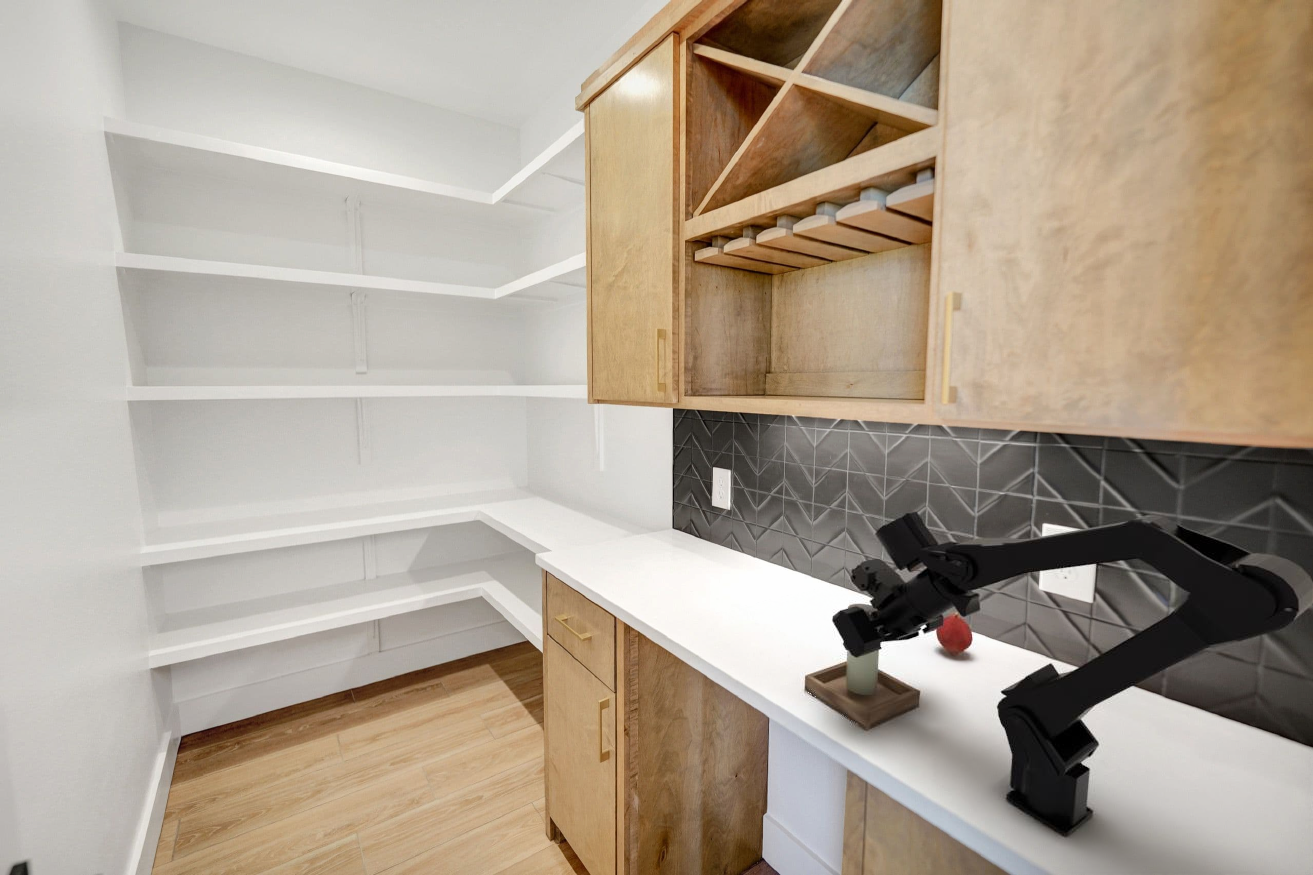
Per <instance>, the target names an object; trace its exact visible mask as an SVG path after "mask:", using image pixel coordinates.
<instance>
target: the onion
mask: <svg viewBox="0 0 1313 875" xmlns="http://www.w3.org/2000/svg"><path fill="white" fill-rule="evenodd" d="M935 632H936V639H937V640H938V642H939V644H940V645H941V646H942V647H943V648H944V649H945V651H947V652H948V653H949V654H950V655H953V656H957V655H959V654H960V653H962V652H964V651H966V650H967V649H969V647H971V645H972V643H973V640H974V639H973V632H972V630H971V627H970V626H969V624H967V622H966V621H965V620H964V619H962V618H961V617H960V614H959V612H954V613H952V614H951V615H947V616H946V617H945V618H943V626H941V627H940V628H938V629H936V630H935Z"/></svg>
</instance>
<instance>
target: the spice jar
mask: <svg viewBox="0 0 1313 875" xmlns="http://www.w3.org/2000/svg"><path fill="white" fill-rule="evenodd" d="M854 606H857V607H860V608H862V609H864V611H865V612H866V614H867V616H868V617H869V619H870V620H871V619H872V618H871V616H870V613H871V612H874V611H877V609H874V608H873V606H872V605H871V604H866V603H853V604H849V605H848V607H847V608H851V607H854ZM876 619H878V618H876ZM872 620H873V619H872ZM874 620H875V619H874ZM879 629H880V628H878V630H879ZM879 651H880V650H877V651H874V652H871V653H869V654H866V655H863V656H860V657H857V658H856V657H854V656H852V655H851V654H850V652H849V650H846V661H847V668H846V687H847V688H848V689H849V690H850V691H852V692H854V693H857V694H860V695H873V694H875V693H876V692H877V682H878V669H879V658H880V657H879V656H880V655H879V654H880V652H879Z"/></svg>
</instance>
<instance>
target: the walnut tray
mask: <svg viewBox="0 0 1313 875" xmlns="http://www.w3.org/2000/svg"><path fill="white" fill-rule="evenodd" d="M846 668H847V660H845V661H842V662H840V663H838V664H835V665H832V666H829V667H826V668H822V669H820V670H818V671H814V672H812V673H809V674H806V675H804V691H805V690H806V691H807V692H806V691H805V692H806V693H808V692H809V693H811V694H812V695H814V696H816V697H817V698H818V699H820V700H821V701H820V700H819V701H820V702H822V703H823V702H824V703H823V704H825V705H826V704H827V705H826V706H828V707H829V708H831V709H832V708H833V709H832V710H834V709H835V710H836V711H835V710H834V711H835V712H837V711H838V712H839V714H840V713H841V714H843V715H844V716H843V715H842V716H843V717H845V716H846V717H847V718H846V717H845V718H846V719H848V718H849V719H850V720H849V719H848V720H849V721H851V720H852V721H853V722H852V721H851V722H852V723H854V722H855V723H857V724H858V725H859V726H858V725H857V724H856V725H857V726H858V727H860V728H861V727H862V728H861V729H863V730H864V729H865V730H864V731H868V730H870V729H872V728H875V727H877V726H879V725H882V724H885V723H886V722H888V721H890V720H892V719H893V720H894V719H895V718H897V717H899V716H902V715H904V714H906V713H908V712H911V711H912V710H915V709H917V708H919V707H920V703H921V702H920V700H921V690H919V689H917V688H916V687H913V686H911V685H909V684H907V683H905V682H904V681H902V680H900V679H899V678H896V677H894V676H892V675H890V674H888V673H887V672H884V671H883V670H881V669H879V668H878V682H877V692H876V693H875V694H873V695H860V694H857V693H854V692H852V691H850V690H849V689H848V688H847V687H846ZM809 693H808V694H809ZM811 694H810V695H811ZM812 695H811V696H812ZM814 696H813V697H814ZM817 698H816V699H817ZM818 699H817V700H818ZM838 712H837V713H838ZM841 714H840V715H841ZM855 723H854V724H855Z"/></svg>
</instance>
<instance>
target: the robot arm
mask: <svg viewBox="0 0 1313 875" xmlns="http://www.w3.org/2000/svg"><path fill="white" fill-rule="evenodd" d="M874 536H875V537H876V538H877V540H878V541H879V543H880V544H881V546H882V547H883V549H884V551H886V553H887V555H888V556H889V558H890V559H891V561H892V562H893V563H894V565H895V566H896V569H898V570H899V571H900V572H902V571H903V570H907V571H908V572H909V573H913V572H916V571H918V570H920V569H922V568H924V567H926V568H924V569H922V570H921V572H919V573H917V574H915V576H913V577H911V579H909V580H908V581H905V580H903V578H902V577H901V575H900V574H899V573H898V572H896V570H894V569H893V568H892V567H891V566H890V565H888V564H887V563H886V562H885V561H884V560H882V559H880V558H874V559H873V558H872V559H869V560H864V561H862V562H860V564H857V565H856V566H855V568H851V570H850V572H851V576H850V581H851V583H852V584H853V585H854V586H855V587H857V589H858V590H860V591H861V592H867V593H868V595H870V596H871V597H872V599H870V600H869V603H870V605H871V606H873V608H874V609H877V611H874V612H871V613H870V616H871V618H872V619H873V620H872V619H871V620H870V619H869V617H868V616H867V614H866V612H865V611H864V609H862V608H860V607H857V606H854V607H851V608H848V607H847V608H845V609H840V610H839V611H838V612H836V613H835V614H834V615H832V619H831V622H832V623H833V625H834V627H835V628H836V630H837V632H838V633H839V635H840V637H841V639H842V645H843V647H844V649H845V650H846V651H847V650H849V652H850V654H851V655H852V656H854V657H856V658H857V657H860V656H863V655H866V654H869V653H871V652H874V651H877V650H879V651H881V650H882V646H881V644H882V643H888V642H897V641H899V642H900V641H908V640H911V639H913V638H916V637H917V638H918V637H919V635H920V633H919V632H920V631H921V632H922V633H923V634H924V635H926V634H928V633H931V632H934V631H936V629H938V628H940V627H941V626H943V619H944V615H943V614H944V613H946V612H947V611H949V610H951V609H952V608H955V609H956V611H957V613H959V616H961V617H962V618H965V617H968V616H970V615H974V614H975V613H978V612H980V611H981V603H980V593H978V592H975V590H978V589H981V588H984V587H988V586H991V585H993V584H996V583H1001V582H1002V581H1006V580H1009V579H1011V578H1015V577H1019V576H1020V575H1023V574H1029V573H1036V572H1045V571H1050V570H1051V571H1052V570H1060V569H1067V568H1075V567H1083V566H1090V565H1099V564H1107V563H1113V562H1114V563H1115V562H1120V561H1121V562H1122V561H1123V562H1124V561H1129V560H1135V559H1136V560H1139V561H1141V562H1143V563H1145V564H1147V565H1149V566H1151V567H1152V568H1154V569H1155V570H1156V571H1158V572H1159V573H1160V574H1161V575H1163V576H1164V577H1165V578H1167V579H1168V580H1169V581H1171V582H1172V583H1173V584H1175V585H1176V586H1178V587H1179V589H1180V588H1181V589H1182V590H1184V591H1185V592H1188V593H1189V594H1188V595H1187V596H1186V597H1185V598H1184V599H1183V600H1182V601H1181V602H1180V603H1179V605H1177V607H1176V608H1174V610H1172V612H1171V613H1170V614H1168V615H1167V616H1165V617H1163V618H1161V619H1160V620H1158V621H1157V622H1155V623H1153V624H1151V625H1150V626H1147V627H1146V628H1144V629H1143V630H1141V631H1139V632H1138V633H1136V634H1134V635H1132V636H1131V637H1129V638H1127V639H1126V640H1124V641H1122V642H1120V643H1118V644H1117V645H1115V646H1114V647H1112V648H1110V649H1108V650H1106V651H1105V652H1103V653H1101V654H1100V655H1098V656H1096V657H1094V658H1093V659H1091V660H1089V661H1088V662H1086V663H1084V664H1083V665H1081V666H1078V667H1077V668H1075V669H1074V670H1070V671H1066V672H1061V673H1059V672H1058V671H1057V669H1056V667H1055V666H1054V665H1053V663H1052V662H1050V663H1048V664H1046V665H1044V666H1042V667H1041V668H1039V669H1037V670H1036V671H1033V672H1031V673H1030V674H1027V675H1026V676H1025V677H1024V678H1022V679H1021V680H1018V681H1017V682H1015V683H1013V684H1011V685H1009V686H1008V687H1005V688H1004V689H1002V690H1001V691H1000V693H1001V694H1002V695H1003V696H1004V697H1003V698H1001V699H1000V700H999V701H998V703H997V705H996V708H997V709H996V710H997V716H998V719H999V721H1000V722H999V723H1000V724H1001V726H1002V728H1003V729H1004V731H1005V735H1006V737H1007V738H1006V739H1007V743H1008V746H1009V748H1010V749H1009V750H1010V752H1011V762H1010V763H1011V765H1010V766H1011V767H1010V780H1009V785H1010V788H1011V789H1012V790H1010V791H1008V792H1007V793H1005V794H1006V797H1005V799H1006V801H1008V802H1009V803H1011V804H1012V805H1014V806H1015V807H1017V808H1019V809H1020V810H1022V811H1023V812H1025V813H1026V814H1028V815H1030V816H1032V817H1033V818H1035V819H1037V820H1038V821H1040V822H1041V823H1043V824H1045V825H1046V826H1048V827H1050V828H1051V829H1052V830H1054V831H1055V832H1058V833H1059V834H1061V835H1063V836H1069V835H1071V833H1073V832H1074V831H1075V830H1077V829H1078V828H1079V827H1080V826H1081V825H1083V824H1084V823H1086V821H1088V820H1089V819H1091V818H1092V817H1093V816H1094V810H1093V809H1092V808H1090V807H1089V806H1088V795H1089V786H1090V785H1089V782H1090V775H1091V774H1090V771H1091V768H1089V767H1088V766H1086V765H1085V764H1084V763H1082V762H1084V761H1086V760H1087V759H1088V758H1091V757H1092V756H1093V755H1094V753H1095V752H1096V750H1097V748H1099V745H1100V743H1099V741H1098V740H1097V738H1096V737H1095V736H1094V734H1093V733H1092V732H1091V730H1090V729H1089V728H1088V727H1087V725H1086V724H1085V722H1084V721H1083V720H1082V719H1083V717H1085V716H1086V715H1087V714H1088V713H1089V712H1090V711H1091V710H1092V709H1093V708H1094V707H1095V706H1097V705H1098V704H1100V703H1102V702H1104V701H1106V700H1108V699H1110V698H1112V697H1114V696H1117V695H1118V694H1120V693H1122V692H1124V691H1126V690H1127V689H1129V688H1131V687H1133V686H1135V685H1137V684H1139V683H1141V682H1143V681H1145V680H1148V679H1149V678H1151V677H1153V676H1155V675H1156V674H1158V673H1161V672H1162V671H1164V670H1166V669H1169V667H1172V666H1174V665H1176V664H1178V663H1180V662H1181V661H1184V660H1186V659H1187V658H1189V657H1192V656H1194V655H1195V654H1198V653H1199V652H1202V651H1203V650H1206V649H1209V648H1213V647H1218V646H1223V645H1228V644H1233V643H1238V642H1242V641H1245V640H1249V639H1252V638H1256V637H1259V636H1263V635H1266V634H1270V633H1273V632H1277V631H1280V630H1282V629H1284V628H1286V627H1288V626H1289V625H1290V624H1291V623H1292V622H1294V621H1295V620H1296V619H1297V618H1298V617H1300V616H1301V614H1304V612H1305V611H1307V610H1308V609H1309V608H1310V607H1311V606H1312V605H1313V580H1312V578H1311V576H1310V575H1309V574H1308V572H1306V570H1304V569H1303V567H1302V566H1300V565H1298V564H1297V563H1295V562H1293V561H1291V560H1290V559H1287V558H1285V557H1281V556H1279V555H1275V554H1268V553H1260V552H1255V553H1254V552H1251V551H1249V550H1247V549H1244V548H1242V547H1240V546H1239V545H1236V544H1233V543H1231V542H1228V541H1226V540H1222V539H1220V538H1217V537H1214V536H1211V535H1208V534H1206V533H1202V532H1200V531H1196V530H1193V529H1190V528H1188V527H1187V526H1183V525H1181V524H1179V523H1177V522H1175V521H1172V520H1171V519H1169V518H1167V517H1165V516H1161V515H1158V514H1147V515H1144V516H1140V517H1137V518H1134V519H1130V520H1127V521H1122V522H1117V523H1112V524H1111V523H1110V524H1106V525H1099V526H1094V527H1093V526H1092V527H1089V528H1088V527H1087V528H1084V529H1083V528H1081V529H1076V530H1072V531H1067V532H1066V531H1064V532H1061V533H1054V534H1049V535H1042V536H1038V537H1037V536H1036V537H1031V538H1013V537H979V538H976V539H975V538H974V539H972V540H968V541H964V542H959V541H958V542H957V541H947V542H944V543H943V542H942V543H939V542H938V541H937V539H936V538H935V536H934V535H933V533H931V531H930V530H929V528H928V527H927V526H926V524H925V523H924V521H923V519H922V517H921V516H920V514H919V513H918V511H910V512H906V513H905V514H903V516H901V517H898V518H896V519H894V520H892V521H890V522H889V523H887V524H884V525H882V526H881V527H880V528H878V529H877V530H876V532H874ZM876 618H878V619H876ZM874 619H875V620H874ZM923 626H925V627H923ZM922 627H923V628H922ZM878 628H880V629H879V630H878Z"/></svg>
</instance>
